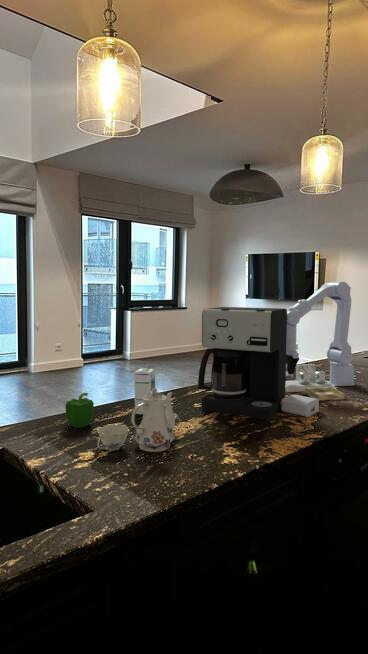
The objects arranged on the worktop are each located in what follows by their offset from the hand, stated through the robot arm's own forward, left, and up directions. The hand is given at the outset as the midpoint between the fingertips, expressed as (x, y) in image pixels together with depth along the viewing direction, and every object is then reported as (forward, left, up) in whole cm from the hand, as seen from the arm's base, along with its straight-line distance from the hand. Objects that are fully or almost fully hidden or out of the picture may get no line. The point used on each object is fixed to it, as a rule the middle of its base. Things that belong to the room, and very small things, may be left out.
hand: (288, 372), depth 185 cm
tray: (-9, +14, -7) cm, 18 cm away
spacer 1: (0, 0, -1) cm, 1 cm away
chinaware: (+63, +52, -7) cm, 83 cm away
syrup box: (+61, +23, -7) cm, 66 cm away
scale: (-7, -1, -7) cm, 10 cm away
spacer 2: (-7, 0, -5) cm, 8 cm away
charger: (+11, +30, -7) cm, 33 cm away
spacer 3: (-14, 0, -5) cm, 15 cm away
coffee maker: (+28, +23, -7) cm, 37 cm away
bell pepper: (+82, +34, -7) cm, 89 cm away
